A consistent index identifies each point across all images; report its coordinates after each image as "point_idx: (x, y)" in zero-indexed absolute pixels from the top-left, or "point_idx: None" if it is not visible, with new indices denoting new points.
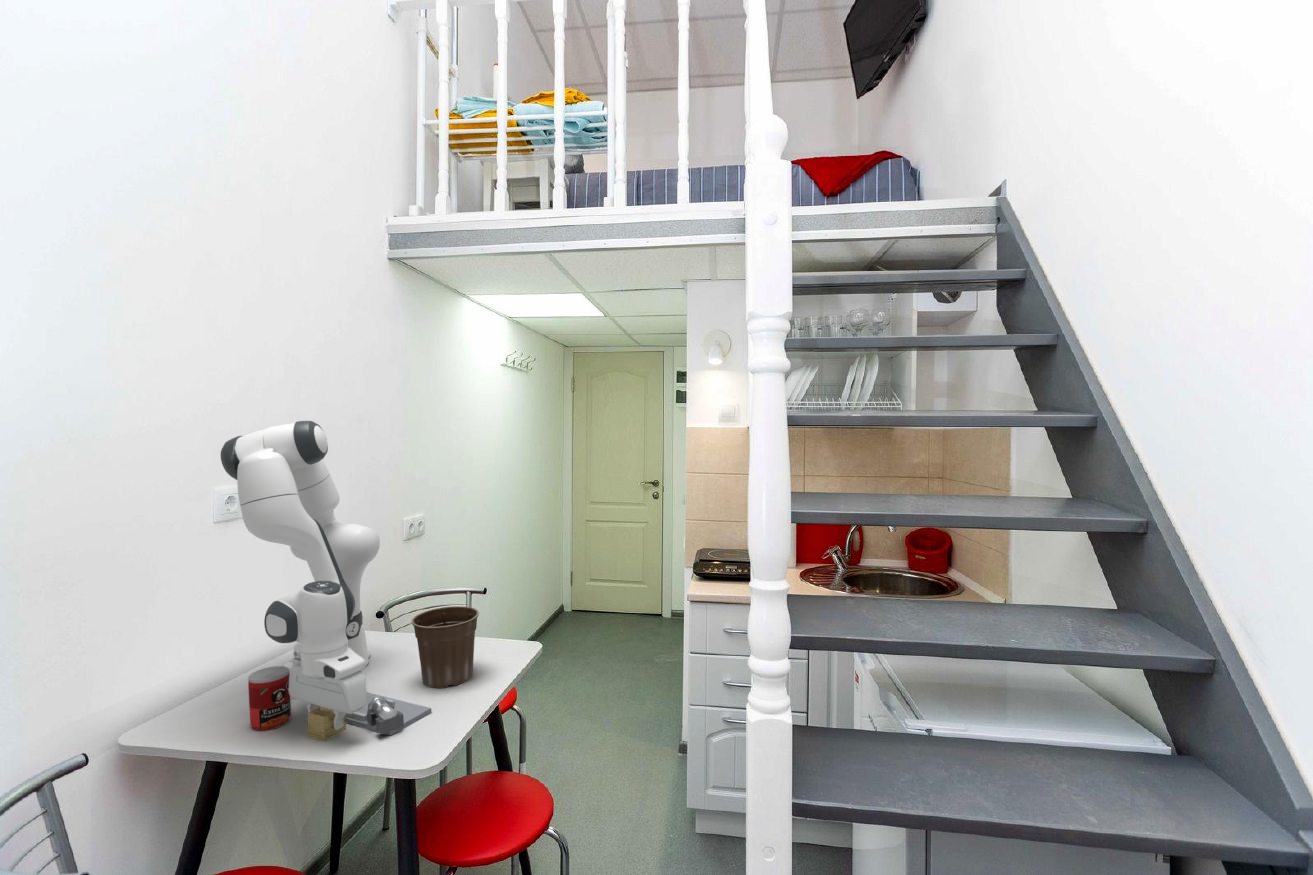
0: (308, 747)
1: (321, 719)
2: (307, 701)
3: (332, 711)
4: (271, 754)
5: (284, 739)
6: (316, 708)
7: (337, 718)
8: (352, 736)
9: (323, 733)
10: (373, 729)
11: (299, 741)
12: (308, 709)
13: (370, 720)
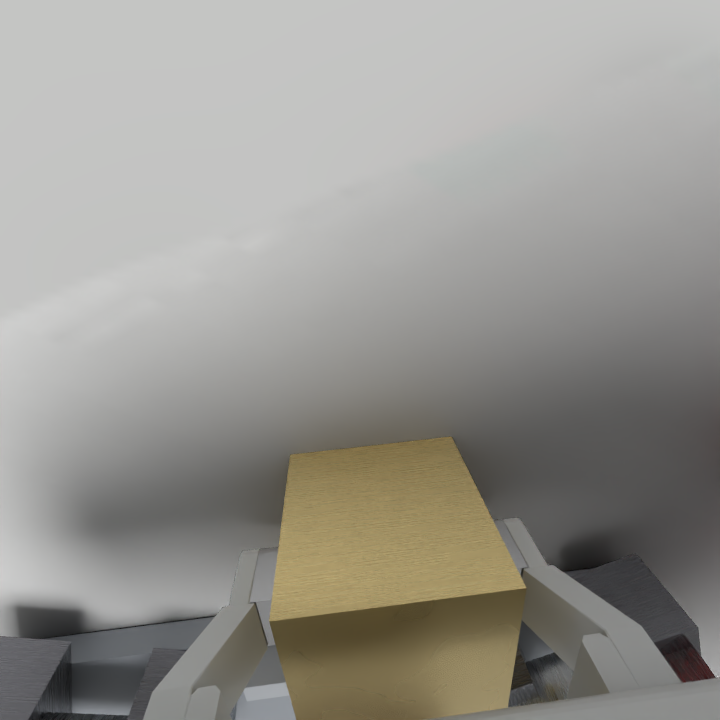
0: (297, 362)
1: (308, 584)
2: (639, 716)
3: (311, 687)
4: (460, 156)
5: (572, 337)
6: (554, 634)
7: (190, 649)
8: (194, 551)
9: (297, 488)
10: (157, 630)
11: (442, 374)
12: (598, 604)
13: (157, 685)
